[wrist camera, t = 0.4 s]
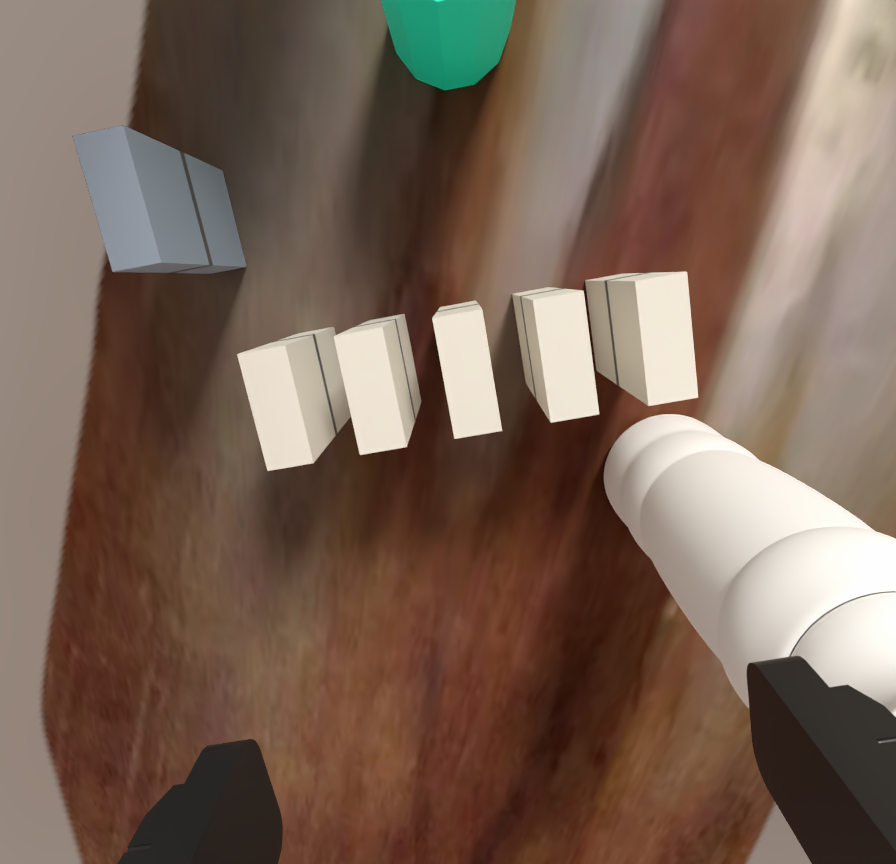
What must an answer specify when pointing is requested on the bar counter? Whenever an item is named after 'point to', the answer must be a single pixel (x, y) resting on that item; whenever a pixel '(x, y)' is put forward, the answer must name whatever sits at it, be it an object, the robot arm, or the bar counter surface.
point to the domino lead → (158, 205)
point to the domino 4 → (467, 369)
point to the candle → (449, 38)
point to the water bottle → (758, 556)
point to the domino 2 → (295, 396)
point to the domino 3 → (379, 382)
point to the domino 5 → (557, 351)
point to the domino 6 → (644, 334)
